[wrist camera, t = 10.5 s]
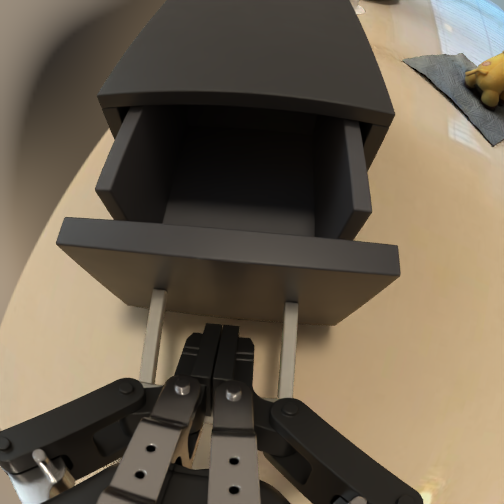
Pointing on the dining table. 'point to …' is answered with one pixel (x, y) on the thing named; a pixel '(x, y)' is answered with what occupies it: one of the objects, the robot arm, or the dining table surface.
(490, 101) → the stuffed giraffe
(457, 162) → the dining table surface
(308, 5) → the dark gray cabinet
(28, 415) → the dining table surface
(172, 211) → the drawer
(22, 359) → the dining table surface
